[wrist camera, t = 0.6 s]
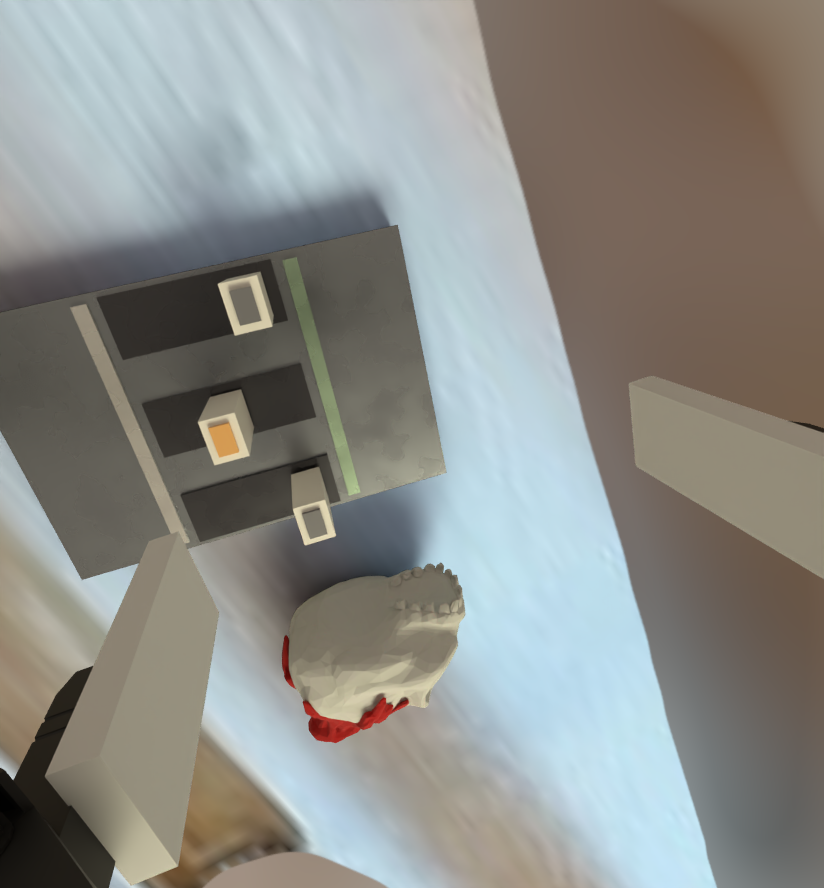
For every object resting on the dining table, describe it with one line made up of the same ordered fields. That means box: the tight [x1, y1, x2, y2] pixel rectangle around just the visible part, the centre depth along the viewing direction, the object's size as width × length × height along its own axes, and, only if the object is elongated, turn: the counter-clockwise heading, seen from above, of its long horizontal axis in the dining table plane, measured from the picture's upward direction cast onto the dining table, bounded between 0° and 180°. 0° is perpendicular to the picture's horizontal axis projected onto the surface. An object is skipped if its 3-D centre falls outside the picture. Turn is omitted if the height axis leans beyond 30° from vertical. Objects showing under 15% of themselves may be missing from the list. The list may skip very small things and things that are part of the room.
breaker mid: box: [198, 389, 254, 465], centre depth 29 cm, size 2×2×5 cm
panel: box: [0, 225, 446, 580], centre depth 32 cm, size 24×16×2 cm, turn 101°
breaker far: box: [291, 467, 336, 545], centre depth 31 cm, size 2×2×5 cm
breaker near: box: [218, 272, 274, 336], centre depth 27 cm, size 2×2×5 cm
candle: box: [282, 563, 465, 743], centre depth 37 cm, size 9×11×15 cm
